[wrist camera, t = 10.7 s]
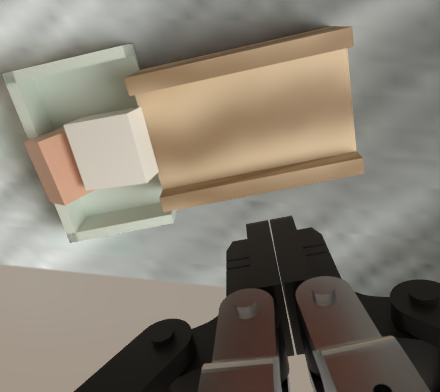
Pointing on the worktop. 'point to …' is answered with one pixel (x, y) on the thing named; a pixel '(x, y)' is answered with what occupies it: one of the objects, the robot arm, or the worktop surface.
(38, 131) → the tray
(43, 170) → the tile
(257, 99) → the wooden u-channel
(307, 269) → the robot arm
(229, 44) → the worktop surface
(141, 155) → the tile
